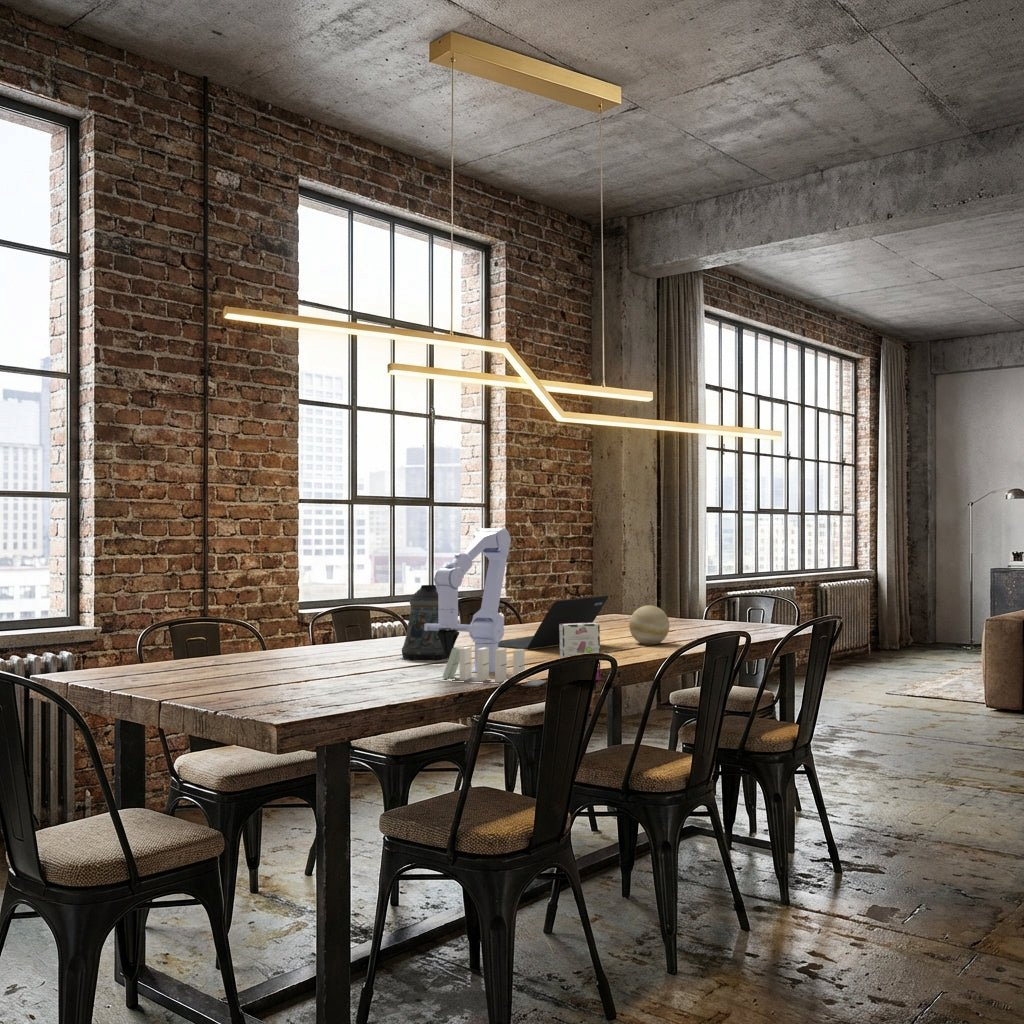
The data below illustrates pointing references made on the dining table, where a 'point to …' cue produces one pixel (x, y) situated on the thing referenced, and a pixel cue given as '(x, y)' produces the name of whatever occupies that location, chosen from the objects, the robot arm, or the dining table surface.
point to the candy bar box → (580, 640)
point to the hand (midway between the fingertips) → (448, 656)
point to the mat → (531, 683)
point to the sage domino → (452, 663)
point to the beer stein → (417, 639)
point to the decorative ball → (649, 625)
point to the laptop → (558, 622)
